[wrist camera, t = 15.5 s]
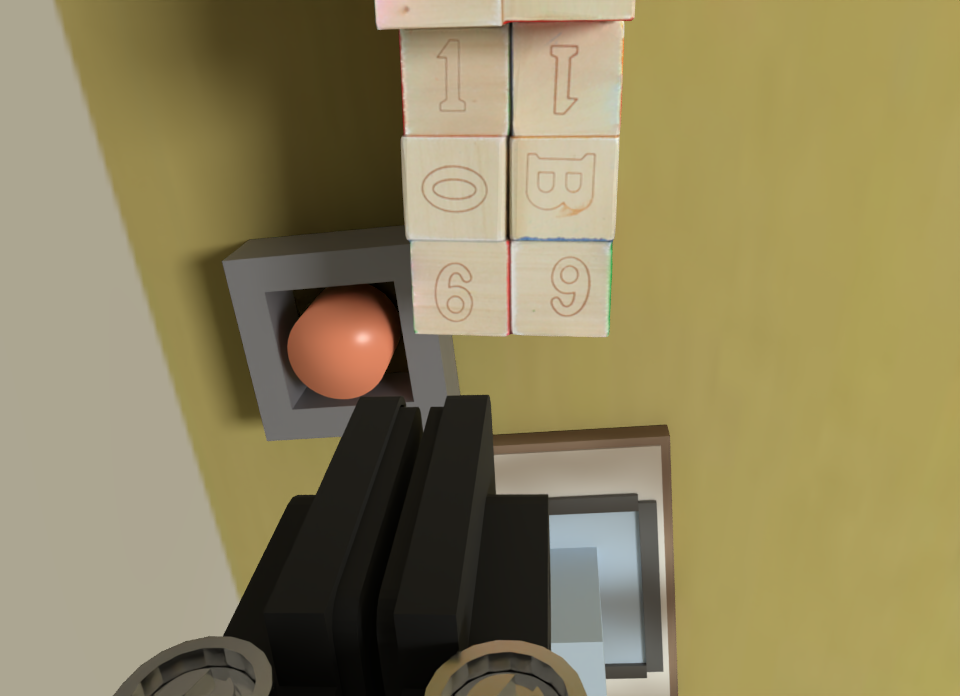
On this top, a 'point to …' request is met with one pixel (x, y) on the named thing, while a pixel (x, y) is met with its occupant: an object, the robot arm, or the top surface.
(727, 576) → the top surface
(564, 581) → the blue block
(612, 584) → the picture board
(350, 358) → the button
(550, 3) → the stack of blocks
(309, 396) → the button housing
